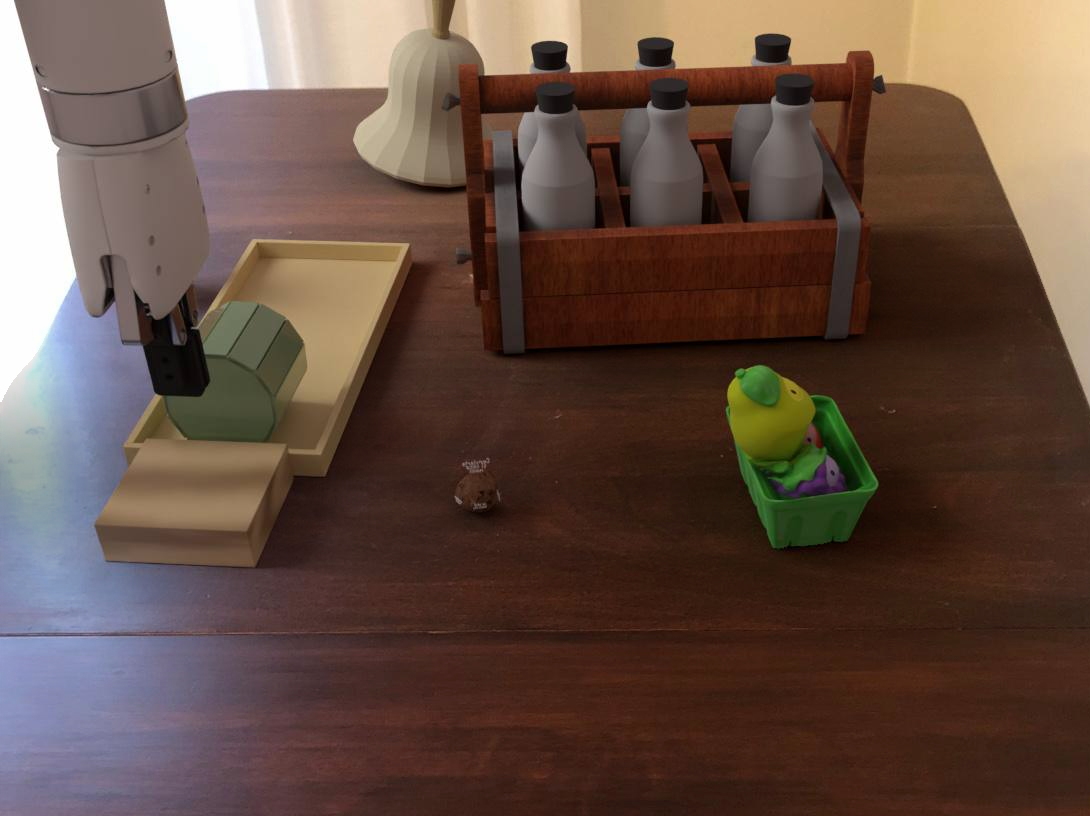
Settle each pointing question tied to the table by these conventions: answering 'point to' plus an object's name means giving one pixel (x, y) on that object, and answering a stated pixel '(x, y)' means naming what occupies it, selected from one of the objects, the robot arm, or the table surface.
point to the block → (196, 503)
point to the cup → (242, 375)
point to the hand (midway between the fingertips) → (183, 389)
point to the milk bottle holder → (667, 201)
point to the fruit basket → (797, 459)
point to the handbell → (422, 108)
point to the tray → (311, 334)
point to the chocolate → (477, 489)
